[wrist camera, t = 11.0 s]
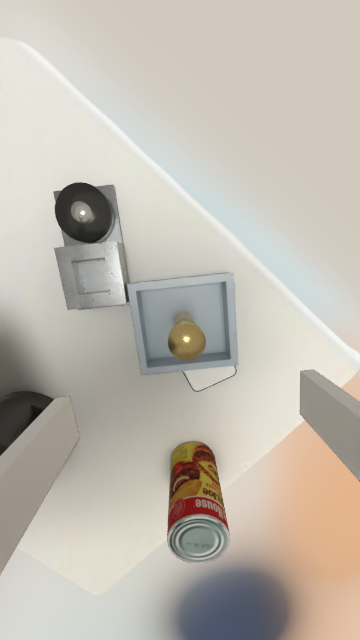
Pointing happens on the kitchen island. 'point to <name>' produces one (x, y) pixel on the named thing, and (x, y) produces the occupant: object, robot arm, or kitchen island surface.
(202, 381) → the smartphone
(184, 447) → the canned food
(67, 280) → the tensioner
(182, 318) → the lock pin
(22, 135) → the kitchen island surface
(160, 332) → the tray
